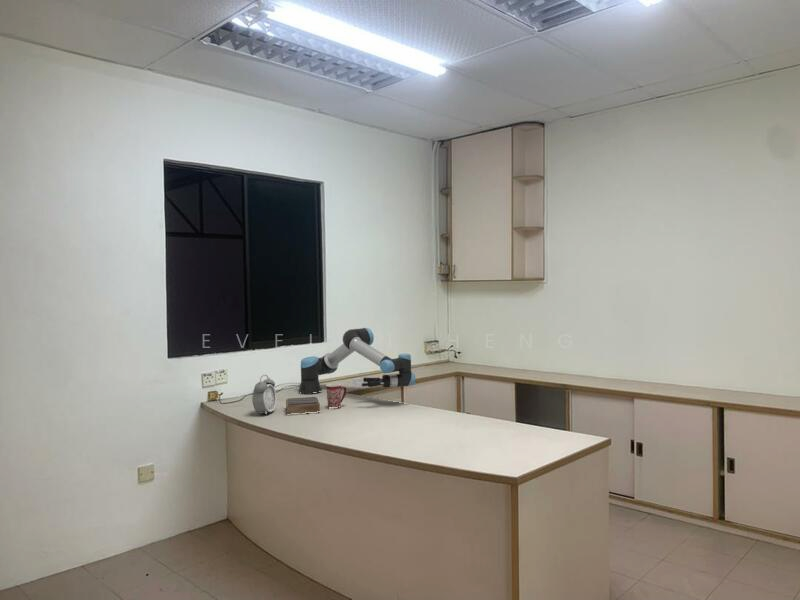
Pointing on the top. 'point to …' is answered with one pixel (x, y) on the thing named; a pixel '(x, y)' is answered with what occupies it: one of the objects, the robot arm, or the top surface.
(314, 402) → the walnut stand
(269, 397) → the alarm clock
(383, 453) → the top surface
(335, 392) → the mug
